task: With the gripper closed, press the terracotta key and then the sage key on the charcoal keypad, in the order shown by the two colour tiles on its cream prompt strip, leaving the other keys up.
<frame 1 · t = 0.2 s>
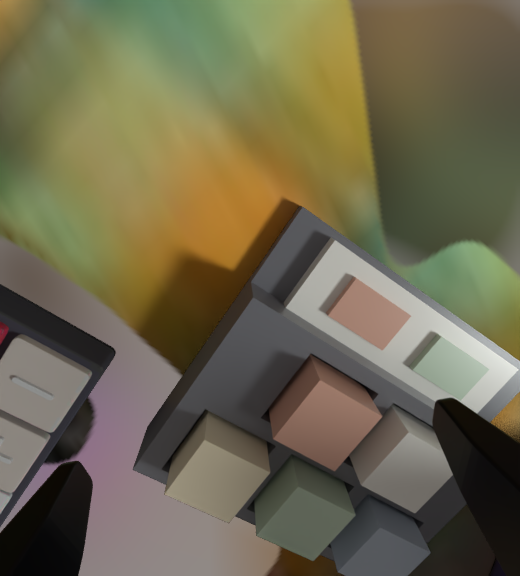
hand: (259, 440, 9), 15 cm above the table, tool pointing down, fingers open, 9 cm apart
key terracotta: (321, 411, 22), point 5 cm above the table, slide at 0.0 cm
key sand: (218, 463, 22), point 4 cm above the table, slide at 0.0 cm
key cream: (401, 456, 23), point 5 cm above the table, slide at 0.0 cm
key sage: (301, 504, 24), point 5 cm above the table, slide at 0.0 cm
keypad console: (326, 411, 27), on the table
key slate: (375, 540, 25), point 4 cm above the table, slide at 0.0 cm
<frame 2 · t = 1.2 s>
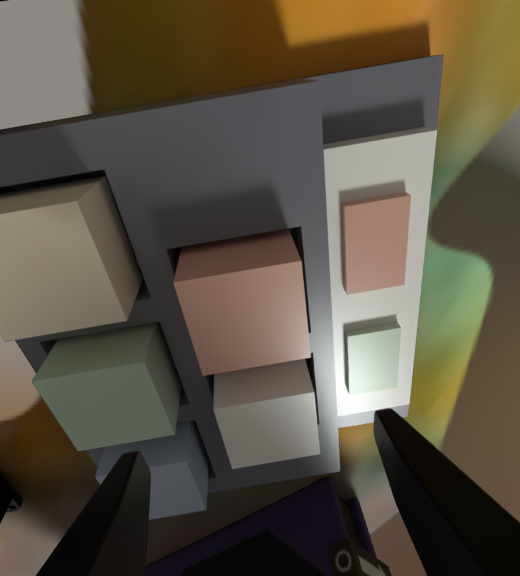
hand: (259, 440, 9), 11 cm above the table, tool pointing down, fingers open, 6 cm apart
key terracotta: (245, 301, 15), point 5 cm above the table, slide at 0.0 cm
key sand: (55, 257, 13), point 5 cm above the table, slide at 0.0 cm
key cream: (267, 407, 18), point 4 cm above the table, slide at 0.0 cm
key sage: (117, 383, 16), point 5 cm above the table, slide at 0.0 cm
keypad console: (217, 310, 20), on the table
book: (239, 537, 33), on the table
key slate: (158, 466, 20), point 5 cm above the table, slide at 0.0 cm
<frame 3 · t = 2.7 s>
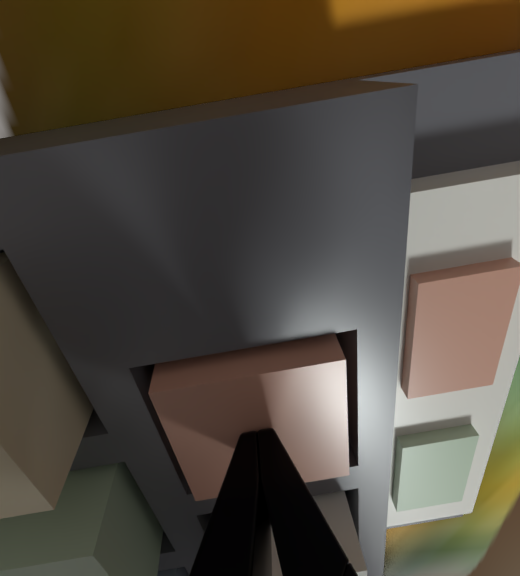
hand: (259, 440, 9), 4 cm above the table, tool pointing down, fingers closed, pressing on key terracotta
key terracotta: (256, 393, 10), point 3 cm above the table, slide at 1.5 cm, touching gripper
key cream: (288, 557, 12), point 4 cm above the table, slide at 0.0 cm
key sage: (63, 544, 11), point 4 cm above the table, slide at 0.0 cm
keypad console: (216, 400, 15), on the table
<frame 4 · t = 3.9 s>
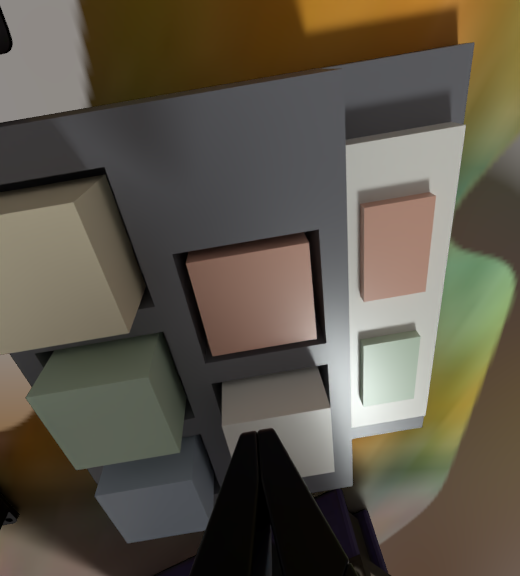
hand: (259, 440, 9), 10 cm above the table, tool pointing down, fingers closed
key terracotta: (254, 284, 15), point 3 cm above the table, slide at 1.9 cm
key sand: (51, 264, 12), point 4 cm above the table, slide at 0.0 cm
key cream: (277, 421, 17), point 5 cm above the table, slide at 0.0 cm
key sage: (118, 397, 15), point 5 cm above the table, slide at 0.0 cm
keypad console: (224, 317, 19), on the table
book: (243, 548, 32), on the table
key slate: (162, 483, 19), point 5 cm above the table, slide at 0.0 cm
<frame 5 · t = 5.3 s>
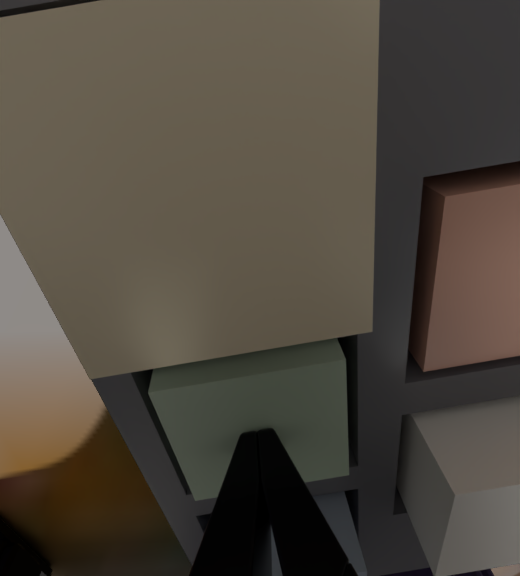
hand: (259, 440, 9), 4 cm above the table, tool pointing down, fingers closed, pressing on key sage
key terracotta: (490, 250, 9), point 3 cm above the table, slide at 1.9 cm
key sand: (203, 187, 6), point 4 cm above the table, slide at 0.0 cm
key cream: (490, 472, 11), point 4 cm above the table, slide at 0.0 cm
key sage: (256, 393, 10), point 3 cm above the table, slide at 1.6 cm, touching gripper
keypad console: (375, 309, 13), on the table
key slate: (287, 558, 12), point 4 cm above the table, slide at 0.0 cm
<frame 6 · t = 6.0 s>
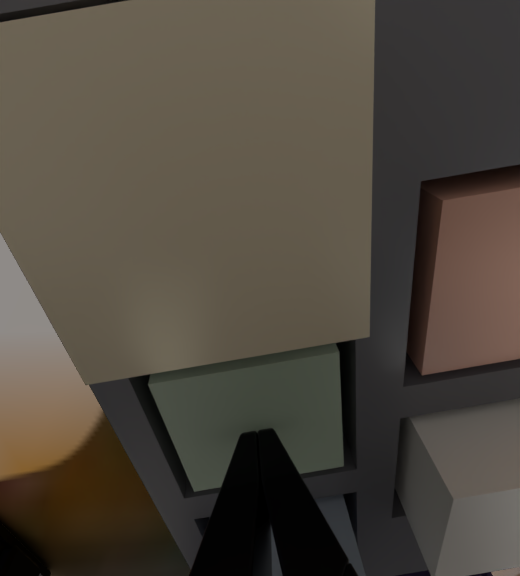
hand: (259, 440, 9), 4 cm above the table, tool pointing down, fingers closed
key terracotta: (488, 253, 9), point 3 cm above the table, slide at 1.9 cm
key sand: (199, 191, 6), point 5 cm above the table, slide at 0.0 cm
key cream: (489, 475, 11), point 4 cm above the table, slide at 0.0 cm
key sage: (253, 387, 11), point 3 cm above the table, slide at 1.9 cm
keypad console: (373, 311, 13), on the table
key slate: (286, 561, 12), point 4 cm above the table, slide at 0.0 cm
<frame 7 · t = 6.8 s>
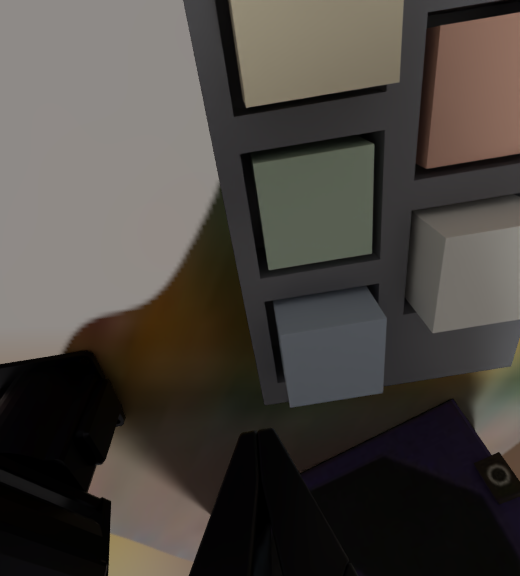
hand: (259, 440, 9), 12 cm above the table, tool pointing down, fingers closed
key terracotta: (471, 90, 14), point 3 cm above the table, slide at 1.9 cm
key sand: (307, 6, 10), point 4 cm above the table, slide at 0.0 cm
key cream: (472, 262, 15), point 4 cm above the table, slide at 0.0 cm
key sage: (309, 200, 15), point 3 cm above the table, slide at 1.9 cm
keypad console: (391, 168, 18), on the table
book: (338, 473, 31), on the table
key slate: (326, 344, 17), point 4 cm above the table, slide at 0.0 cm
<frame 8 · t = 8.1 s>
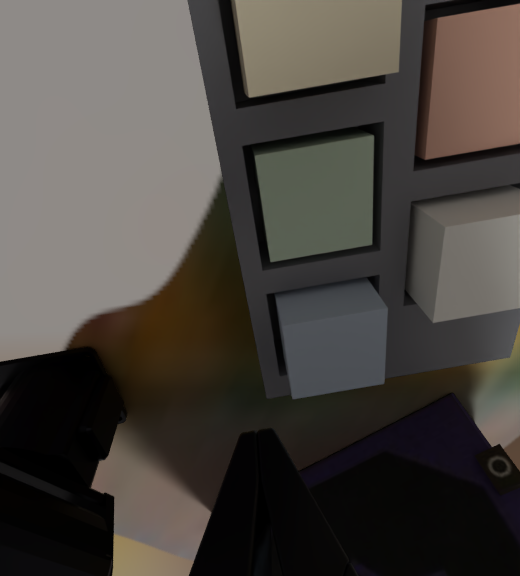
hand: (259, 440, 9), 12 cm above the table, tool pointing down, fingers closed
key terracotta: (468, 83, 14), point 3 cm above the table, slide at 1.9 cm
key cream: (471, 253, 16), point 4 cm above the table, slide at 0.0 cm
key sage: (310, 192, 16), point 3 cm above the table, slide at 1.9 cm
keypad console: (389, 162, 18), on the table
book: (339, 469, 31), on the table
key slate: (328, 335, 17), point 5 cm above the table, slide at 0.0 cm
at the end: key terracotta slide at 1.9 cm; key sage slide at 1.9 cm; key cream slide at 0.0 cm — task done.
